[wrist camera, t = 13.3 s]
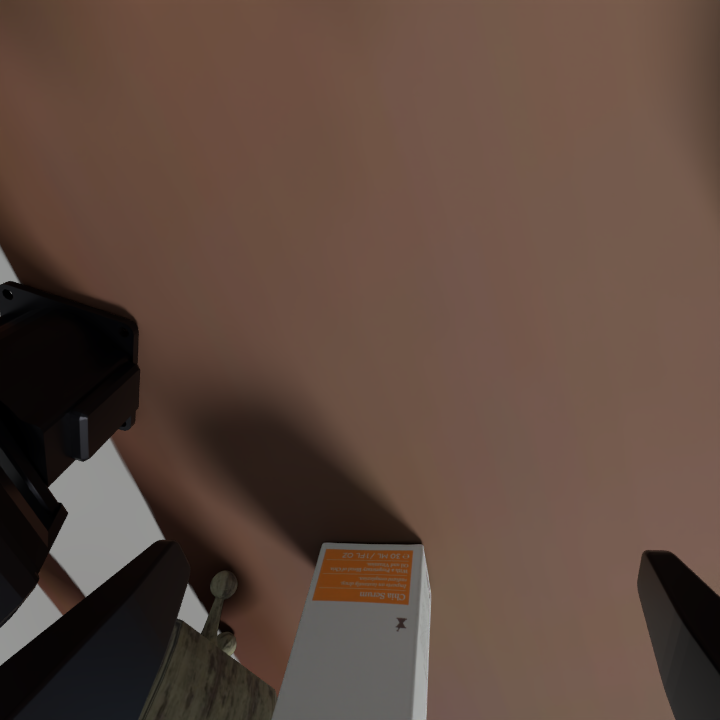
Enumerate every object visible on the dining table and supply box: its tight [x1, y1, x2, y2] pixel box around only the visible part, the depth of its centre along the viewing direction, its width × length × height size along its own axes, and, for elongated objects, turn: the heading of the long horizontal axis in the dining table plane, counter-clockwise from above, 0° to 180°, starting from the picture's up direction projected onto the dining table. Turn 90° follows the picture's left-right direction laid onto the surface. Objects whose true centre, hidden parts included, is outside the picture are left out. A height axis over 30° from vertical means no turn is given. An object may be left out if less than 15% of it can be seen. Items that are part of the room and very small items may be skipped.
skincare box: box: [272, 543, 431, 720], centre depth 23 cm, size 6×4×12 cm
